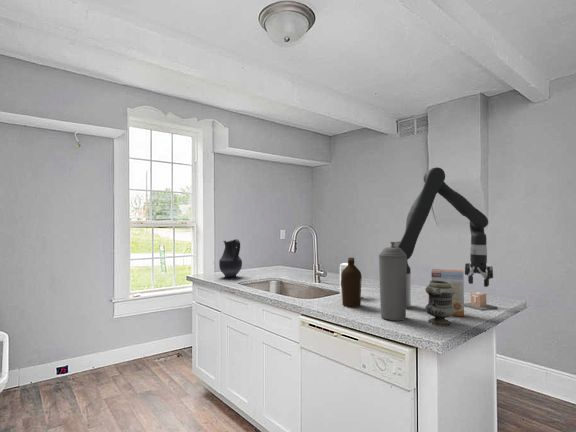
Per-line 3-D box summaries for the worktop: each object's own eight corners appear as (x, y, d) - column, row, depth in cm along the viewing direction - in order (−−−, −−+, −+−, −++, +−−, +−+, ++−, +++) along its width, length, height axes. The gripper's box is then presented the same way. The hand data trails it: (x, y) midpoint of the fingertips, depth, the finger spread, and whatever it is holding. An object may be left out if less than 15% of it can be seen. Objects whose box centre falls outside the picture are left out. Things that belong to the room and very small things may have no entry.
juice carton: (344, 294, 217) (344, 262, 217) (357, 295, 212) (357, 263, 212) (338, 296, 211) (338, 263, 211) (351, 298, 206) (351, 264, 206)
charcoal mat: (481, 310, 177) (481, 309, 177) (460, 305, 188) (460, 304, 188) (497, 307, 183) (497, 306, 183) (476, 302, 193) (476, 301, 193)
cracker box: (464, 314, 172) (463, 270, 172) (464, 317, 166) (464, 271, 166) (432, 311, 178) (432, 268, 178) (431, 314, 172) (431, 270, 172)
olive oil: (343, 308, 185) (343, 259, 185) (339, 303, 195) (339, 256, 195) (364, 307, 185) (363, 258, 185) (359, 302, 195) (358, 256, 196)
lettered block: (479, 307, 182) (479, 294, 182) (470, 304, 186) (470, 292, 186) (486, 305, 184) (486, 293, 184) (477, 303, 189) (477, 291, 189)
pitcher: (234, 275, 291) (234, 237, 291) (249, 278, 275) (248, 239, 275) (215, 277, 280) (214, 238, 280) (229, 281, 264) (228, 240, 264)
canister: (396, 313, 174) (396, 240, 174) (413, 320, 162) (413, 242, 162) (373, 315, 170) (372, 241, 170) (389, 323, 158) (388, 243, 158)
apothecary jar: (440, 328, 150) (440, 285, 150) (419, 320, 161) (419, 280, 161) (461, 324, 155) (461, 282, 155) (439, 317, 166) (439, 278, 166)
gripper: (461, 252, 190) (461, 283, 190) (486, 255, 177) (486, 288, 177) (471, 251, 193) (471, 282, 193) (496, 254, 180) (496, 287, 180)
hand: (478, 285), depth 185 cm, fingers open, 8 cm apart
